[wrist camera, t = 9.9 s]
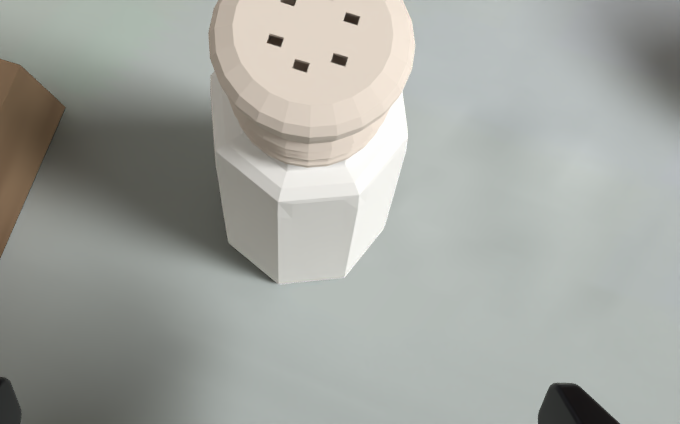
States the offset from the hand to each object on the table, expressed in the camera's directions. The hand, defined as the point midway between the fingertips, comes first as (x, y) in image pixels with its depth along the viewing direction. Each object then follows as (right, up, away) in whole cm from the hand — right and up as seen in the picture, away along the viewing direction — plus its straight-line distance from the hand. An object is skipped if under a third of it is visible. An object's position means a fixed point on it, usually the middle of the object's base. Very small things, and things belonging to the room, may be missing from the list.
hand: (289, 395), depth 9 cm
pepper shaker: (0, +3, +9) cm, 10 cm away
